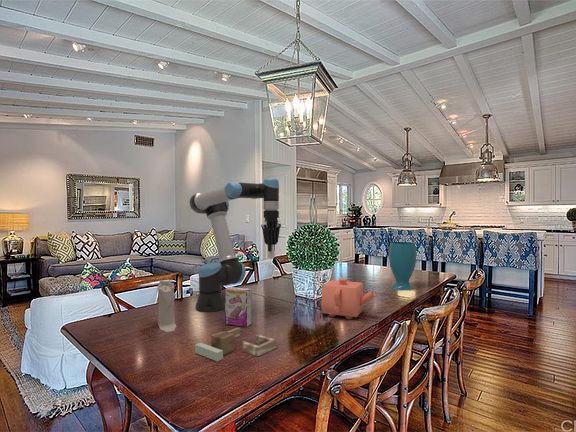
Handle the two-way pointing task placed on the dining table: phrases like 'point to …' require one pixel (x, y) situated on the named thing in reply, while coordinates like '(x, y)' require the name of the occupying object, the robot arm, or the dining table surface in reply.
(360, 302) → the teapot
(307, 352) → the dining table surface
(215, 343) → the block
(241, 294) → the candy bar box
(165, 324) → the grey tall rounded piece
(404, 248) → the vase
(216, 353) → the bar
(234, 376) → the dining table surface
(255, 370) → the dining table surface
